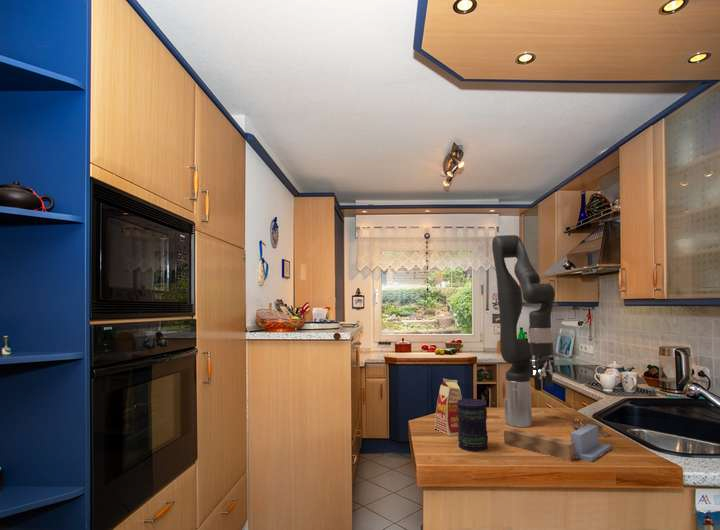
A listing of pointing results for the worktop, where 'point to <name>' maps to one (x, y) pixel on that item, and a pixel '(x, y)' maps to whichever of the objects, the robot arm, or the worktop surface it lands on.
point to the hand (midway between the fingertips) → (543, 388)
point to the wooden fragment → (600, 432)
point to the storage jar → (472, 425)
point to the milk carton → (448, 407)
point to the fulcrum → (588, 443)
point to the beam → (539, 443)
